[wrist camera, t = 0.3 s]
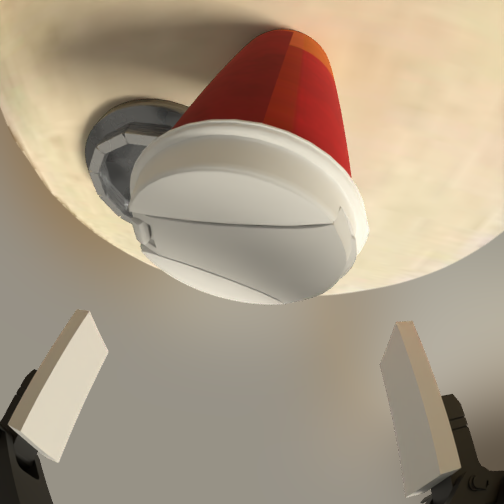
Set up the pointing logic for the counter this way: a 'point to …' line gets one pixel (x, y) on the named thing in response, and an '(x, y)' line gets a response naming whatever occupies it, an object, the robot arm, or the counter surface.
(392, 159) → the counter surface
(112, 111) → the rosette plate
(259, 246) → the paper cup
